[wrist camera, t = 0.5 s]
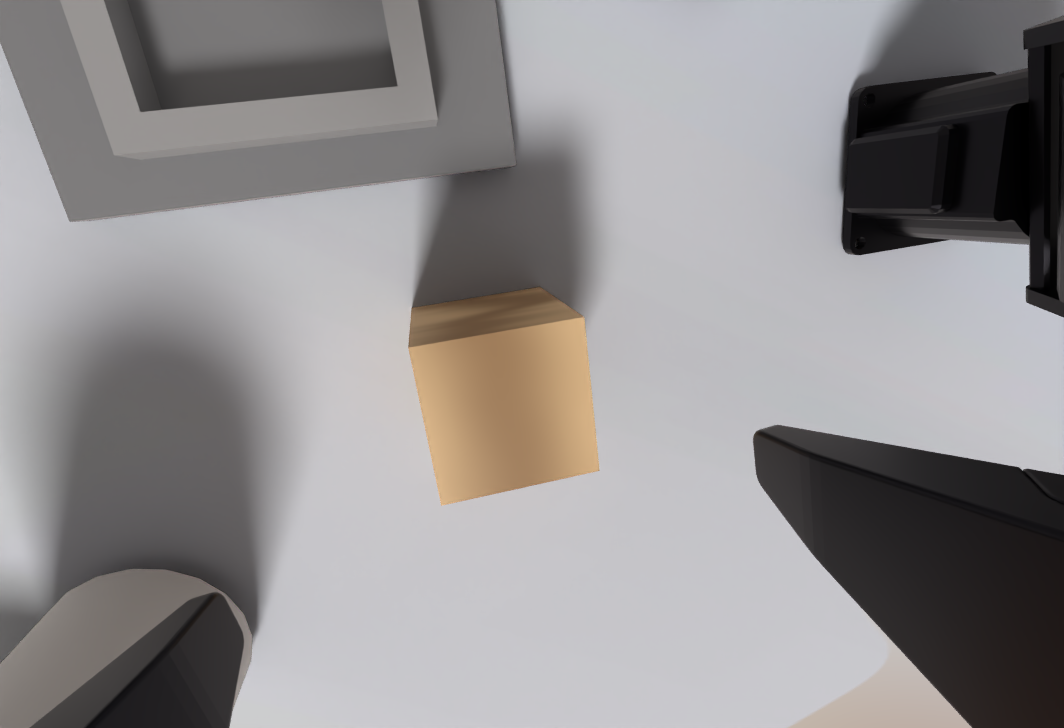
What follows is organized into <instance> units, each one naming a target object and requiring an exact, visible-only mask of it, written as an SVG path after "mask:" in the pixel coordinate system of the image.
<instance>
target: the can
mask: <svg viewBox="0 0 1064 728" xmlns="http://www.w3.org/2000/svg"><path fill="white" fill-rule="evenodd" d="M211 592H219V593H221V594H222V595H224V597H225V598H226V600H227V602H228V604H229V606H230V608H231V609H232V611H233V613H234V615H235V617H236V619H237V621H238V623H239V625H240V627H241V629H242V631H243V635H244V650H243V655H242V661H241V666H240V672H239V677H238V683H237V688H236V694H235V699H234V704H233V708H234V705H235V703H236V700H237V697H238V694H239V692H240V689H241V686H242V684H243V681H244V678H245V676H246V673H247V670H248V668H249V665H250V662H251V654H252V634H251V632H250V629H249V626H248V624H247V621H246V618H245V616H244V614H243V612H242V611H241V610H240V609H239V608H238V607H237V606H236V605H235V604H234V602H233V601H232V600H231V599H230V598H229V597H228V596H227V595H226V594H225V593H224V592H222V591H220V590H218V589H217V588H215V587H213V586H212V585H210V584H208V583H206V582H205V581H203V580H201V579H199V578H196V577H192V576H189V575H185V574H181V573H178V572H174V571H170V570H165V569H128V570H123V571H119V572H114V573H110V574H105V575H101V576H96V577H95V578H93V579H91V580H89V581H87V582H85V583H83V584H81V585H79V586H77V587H76V588H74V589H72V590H70V591H68V592H67V593H66V594H65V595H64V596H63V597H62V598H61V599H60V600H59V601H58V602H57V603H56V604H55V605H54V606H53V607H52V608H51V609H50V610H49V611H48V612H47V613H46V614H45V615H44V617H43V618H42V619H41V620H40V621H39V622H38V623H37V624H36V625H35V626H34V627H33V629H32V630H31V631H30V632H29V633H28V634H27V635H26V636H25V637H24V638H23V639H22V641H21V642H20V643H19V644H18V645H17V646H16V647H15V648H14V649H13V650H12V651H11V653H10V654H9V655H8V656H7V657H6V658H5V659H4V660H3V661H2V662H1V663H0V728H29V727H31V726H32V725H33V724H34V723H36V722H37V721H38V720H39V719H41V718H42V717H43V716H44V715H46V714H47V713H48V712H49V711H51V710H52V709H53V708H54V707H56V706H57V705H58V704H59V703H61V702H62V701H63V700H64V699H66V698H67V697H68V696H69V695H71V694H72V693H73V692H74V691H76V690H77V689H78V688H79V687H81V686H82V685H83V684H84V683H86V682H87V681H88V680H89V679H91V678H92V677H93V676H94V675H96V674H97V673H98V672H99V671H101V670H102V669H103V668H104V667H106V666H107V665H108V664H109V663H111V662H112V661H113V660H114V659H116V658H117V657H118V656H119V655H120V654H122V653H123V652H124V651H125V650H127V649H128V648H129V647H130V646H132V645H133V644H134V643H135V642H137V641H138V640H139V639H140V638H142V637H143V636H144V635H145V634H147V633H148V632H149V631H150V630H152V629H153V628H154V627H155V626H157V625H158V624H159V623H160V622H162V621H163V620H164V619H165V618H167V617H168V616H169V615H170V614H172V613H173V612H174V611H175V610H177V609H178V608H179V607H180V606H182V605H183V604H184V603H185V602H187V601H188V600H190V599H192V598H195V597H198V596H201V595H205V594H208V593H211ZM232 711H233V710H232Z"/></svg>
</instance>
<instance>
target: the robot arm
mask: <svg viewBox="0 0 1064 728" xmlns="http://www.w3.org/2000/svg"><path fill="white" fill-rule="evenodd" d="M1023 40H1024V50H1025V49H1028V68H1025V69H1021V70H1016V71H1012V72H1007V73H1003V74H999V75H996V74H995V73H994V72H986V73H977V74H968V75H960V76H951V77H942V78H934V79H925V80H916V81H908V82H899V83H891V84H882V85H873V86H868V87H864V88H861V89H858V90H857V91H856V92H855V93H854V94H853V96H852V98H851V103H850V121H849V140H848V158H847V177H846V196H845V215H844V233H843V249H844V250H845V252H846V253H848V254H853V255H863V254H869V253H875V252H881V251H887V250H893V249H898V248H904V247H910V246H916V245H922V244H928V243H934V242H940V241H945V240H964V241H980V242H996V243H1011V244H1027V245H1029V280H1030V285H1028V286H1026V302H1027V303H1029V304H1032V305H1034V306H1037V307H1039V308H1042V309H1044V310H1047V311H1049V312H1052V313H1054V314H1057V315H1059V316H1062V317H1064V16H1061V17H1058V18H1055V19H1053V20H1050V21H1047V22H1045V23H1042V24H1039V25H1036V26H1034V27H1031V28H1028V29H1026V30H1023ZM865 96H866V97H867V104H866V106H865V105H864V98H865ZM857 239H858V241H859V242H858V245H857V246H855V243H856V240H857ZM753 445H754V456H755V467H756V475H757V478H758V481H759V483H760V485H761V486H762V488H763V489H764V491H765V492H766V493H767V495H768V496H769V497H770V499H771V500H772V501H773V503H774V504H775V505H776V507H777V508H778V509H779V511H780V512H781V513H782V515H783V516H784V517H785V519H786V520H787V521H788V523H789V524H790V525H791V527H792V528H793V529H794V531H795V532H796V533H797V535H798V536H799V537H800V539H801V540H802V541H803V543H804V544H805V545H806V547H807V548H808V549H809V550H810V552H811V553H812V554H813V555H814V557H815V558H816V559H817V560H818V561H819V562H820V563H821V564H822V566H823V567H824V568H825V569H826V570H827V571H828V572H829V573H830V574H831V575H832V577H833V578H834V579H835V580H836V581H837V582H838V583H839V584H840V585H841V586H842V587H843V588H844V589H845V591H846V592H847V593H848V594H849V595H850V596H851V597H852V598H853V599H854V600H855V601H856V602H857V604H858V605H859V606H860V607H861V608H862V609H863V610H864V611H865V612H866V613H867V614H868V615H869V617H870V618H871V619H872V620H873V621H874V622H875V623H876V624H877V625H878V626H879V627H880V628H881V630H882V631H883V632H884V633H885V634H886V635H887V636H888V637H889V638H890V639H891V640H892V641H893V643H895V645H896V646H897V647H898V648H899V649H900V650H901V651H902V652H903V653H904V654H905V656H906V657H907V658H908V659H909V660H910V661H911V662H912V663H913V664H914V665H915V666H916V667H917V669H918V670H919V671H920V672H921V673H922V674H923V675H924V676H925V677H926V678H927V679H928V680H929V681H930V683H931V684H932V685H933V686H934V687H935V688H936V689H937V690H938V691H939V692H940V693H941V694H942V696H943V697H944V698H945V699H946V700H947V701H948V702H949V703H950V704H951V705H952V706H953V707H954V708H955V709H956V711H957V712H958V713H959V714H960V715H961V716H962V717H963V718H964V719H965V720H966V721H967V723H968V724H969V725H970V726H971V727H972V728H1064V475H1060V474H1054V473H1049V472H1043V471H1037V470H1032V469H1024V470H1023V471H1022V470H1021V469H1020V468H1019V467H1014V466H1008V465H1003V464H997V463H991V462H986V461H980V460H974V459H969V458H963V457H957V456H952V455H946V454H941V453H935V452H929V451H924V450H918V449H912V448H907V447H901V446H895V445H890V444H884V443H878V442H873V441H867V440H861V439H856V438H850V437H844V436H839V435H833V434H827V433H822V432H816V431H810V430H805V429H799V428H793V427H788V426H782V425H774V426H771V427H767V428H764V429H761V430H758V431H756V433H755V434H754V437H753ZM243 650H244V635H243V631H242V629H241V627H240V625H239V623H238V621H237V619H236V617H235V615H234V613H233V611H232V609H231V608H230V606H229V604H228V602H227V600H226V598H225V597H224V595H222V594H221V593H219V592H211V593H208V594H205V595H201V596H198V597H195V598H192V599H190V600H188V601H187V602H185V603H184V604H183V605H182V606H180V607H179V608H178V609H177V610H175V611H174V612H173V613H172V614H170V615H169V616H168V617H167V618H165V619H164V620H163V621H162V622H160V623H159V624H158V625H157V626H155V627H154V628H153V629H152V630H150V631H149V632H148V633H147V634H145V635H144V636H143V637H142V638H140V639H139V640H138V641H137V642H135V643H134V644H133V645H132V646H130V647H129V648H128V649H127V650H125V651H124V652H123V653H122V654H120V655H119V656H118V657H117V658H116V659H114V660H113V661H112V662H111V663H109V664H108V665H107V666H106V667H104V668H103V669H102V670H101V671H99V672H98V673H97V674H96V675H94V676H93V677H92V678H91V679H89V680H88V681H87V682H86V683H84V684H83V685H82V686H81V687H79V688H78V689H77V690H76V691H74V692H73V693H72V694H71V695H69V696H68V697H67V698H66V699H64V700H63V701H62V702H61V703H59V704H58V705H57V706H56V707H54V708H53V709H52V710H51V711H49V712H48V713H47V714H46V715H44V716H43V717H42V718H41V719H39V720H38V721H37V722H36V723H34V724H33V725H32V726H31V727H29V728H229V726H230V721H231V715H232V710H233V704H234V699H235V694H236V688H237V683H238V677H239V672H240V666H241V661H242V655H243Z"/></svg>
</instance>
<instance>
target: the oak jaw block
mask: <svg viewBox="0 0 1064 728" xmlns="http://www.w3.org/2000/svg"><path fill="white" fill-rule="evenodd" d="M408 348H409V353H410V358H411V363H412V367H413V372H414V377H415V382H416V387H417V391H418V396H419V401H420V406H421V410H422V415H423V420H424V425H425V430H426V434H427V439H428V444H429V449H430V453H431V458H432V463H433V468H434V473H435V477H436V482H437V487H438V492H439V496H440V501H441V506H442V505H446V504H451V503H455V502H460V501H464V500H469V499H473V498H478V497H482V496H487V495H492V494H496V493H501V492H505V491H510V490H514V489H519V488H523V487H528V486H532V485H537V484H541V483H546V482H550V481H555V480H559V479H564V478H568V477H573V476H577V475H582V474H586V473H591V472H596V471H599V461H598V451H597V441H596V431H595V421H594V411H593V401H592V391H591V381H590V371H589V361H588V351H587V341H586V331H585V321H584V317H583V316H582V315H580V314H579V313H578V312H576V311H575V310H573V309H572V308H570V307H569V306H567V305H566V304H564V303H563V302H561V301H560V300H559V299H557V298H556V297H554V296H553V295H551V294H550V293H548V292H547V291H545V290H544V289H542V288H541V287H536V288H530V289H524V290H518V291H512V292H506V293H500V294H494V295H487V296H481V297H475V298H469V299H463V300H457V301H451V302H445V303H439V304H432V305H426V306H420V307H414V308H412V311H411V323H410V334H409V346H408Z"/></svg>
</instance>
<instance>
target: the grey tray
mask: <svg viewBox="0 0 1064 728" xmlns="http://www.w3.org/2000/svg"><path fill="white" fill-rule="evenodd" d="M0 43H1V46H2V48H3V51H4V53H5V56H6V59H7V61H8V64H9V66H10V69H11V71H12V74H13V77H14V79H15V82H16V84H17V87H18V90H19V92H20V95H21V97H22V100H23V102H24V105H25V108H26V110H27V113H28V115H29V118H30V121H31V123H32V126H33V128H34V131H35V133H36V136H37V139H38V141H39V144H40V146H41V149H42V152H43V154H44V157H45V159H46V162H47V165H48V167H49V170H50V172H51V175H52V177H53V180H54V183H55V185H56V188H57V190H58V193H59V196H60V198H61V201H62V203H63V206H64V208H65V211H66V214H67V216H68V219H69V221H70V222H76V221H92V220H100V219H108V218H116V217H123V216H131V215H139V214H147V213H155V212H163V211H170V210H178V209H186V208H194V207H202V206H210V205H218V204H225V203H233V202H241V201H249V200H257V199H265V198H273V197H280V196H288V195H296V194H304V193H312V192H320V191H328V190H335V189H343V188H351V187H359V186H367V185H375V184H382V183H390V182H398V181H406V180H414V179H422V178H430V177H437V176H445V175H453V174H461V173H469V172H477V171H485V170H492V169H500V168H508V167H513V166H515V165H516V157H515V149H514V141H513V134H512V126H511V118H510V110H509V102H508V95H507V87H506V79H505V71H504V64H503V56H502V48H501V40H500V33H499V25H498V17H497V9H496V1H495V0H0Z"/></svg>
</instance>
